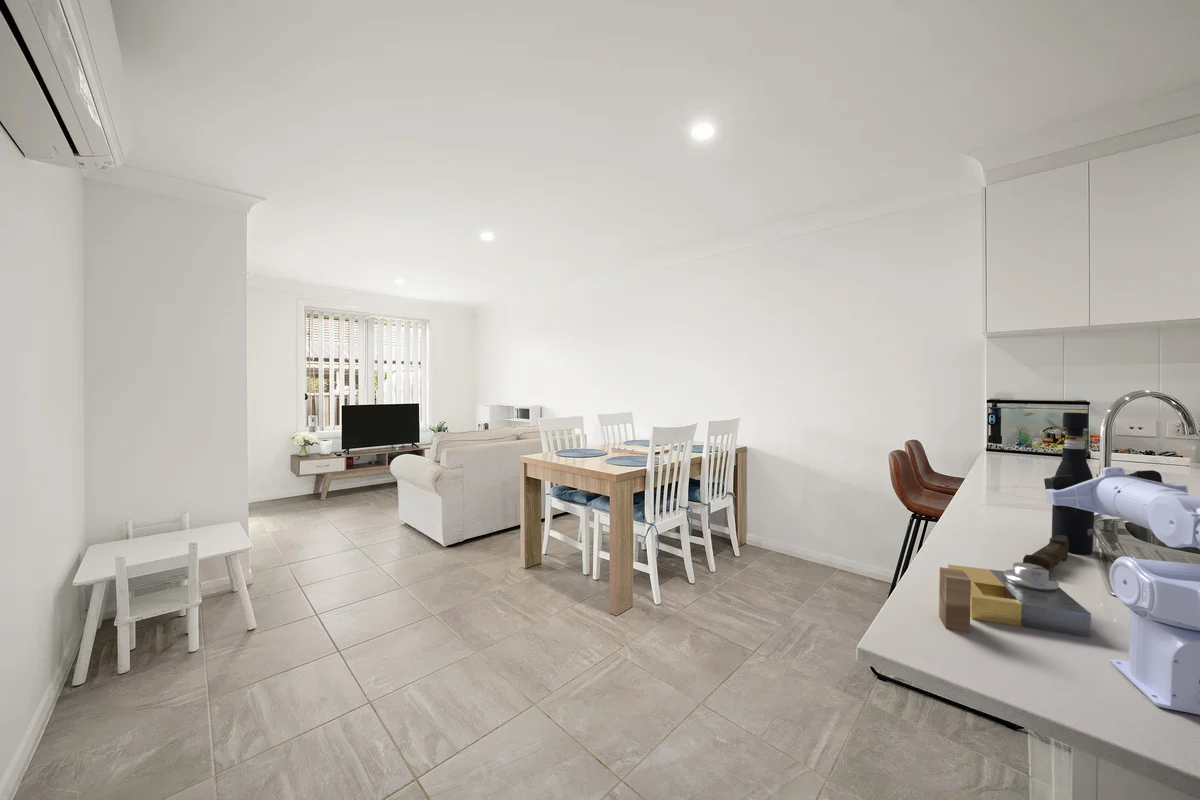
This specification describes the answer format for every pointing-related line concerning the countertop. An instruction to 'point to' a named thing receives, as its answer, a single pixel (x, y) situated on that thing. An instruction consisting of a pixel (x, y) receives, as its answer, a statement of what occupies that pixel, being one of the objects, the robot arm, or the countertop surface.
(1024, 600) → the slotted base block
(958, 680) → the countertop surface
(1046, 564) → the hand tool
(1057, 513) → the wine bottle
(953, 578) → the wedge
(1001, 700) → the countertop surface
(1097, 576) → the countertop surface
